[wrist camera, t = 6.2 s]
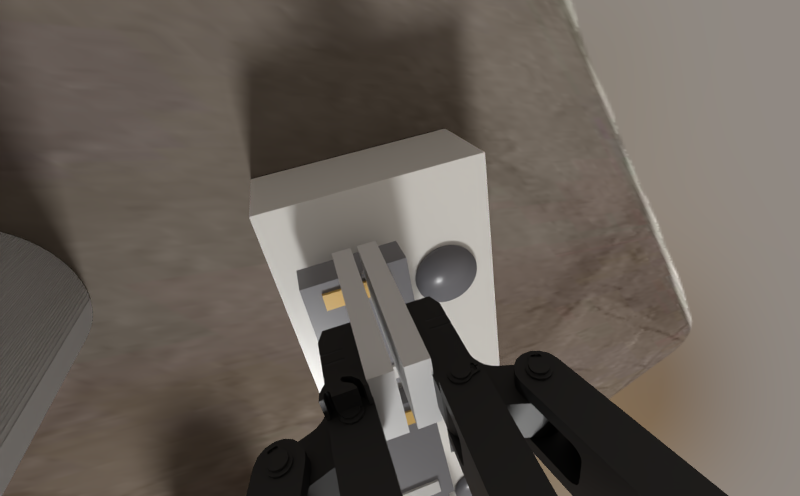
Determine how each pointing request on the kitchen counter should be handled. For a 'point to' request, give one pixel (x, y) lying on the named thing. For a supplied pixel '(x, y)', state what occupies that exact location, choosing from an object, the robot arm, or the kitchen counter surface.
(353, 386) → the robot arm
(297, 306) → the power strip
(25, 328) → the cup
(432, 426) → the rocker
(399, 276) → the plate
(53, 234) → the kitchen counter surface
